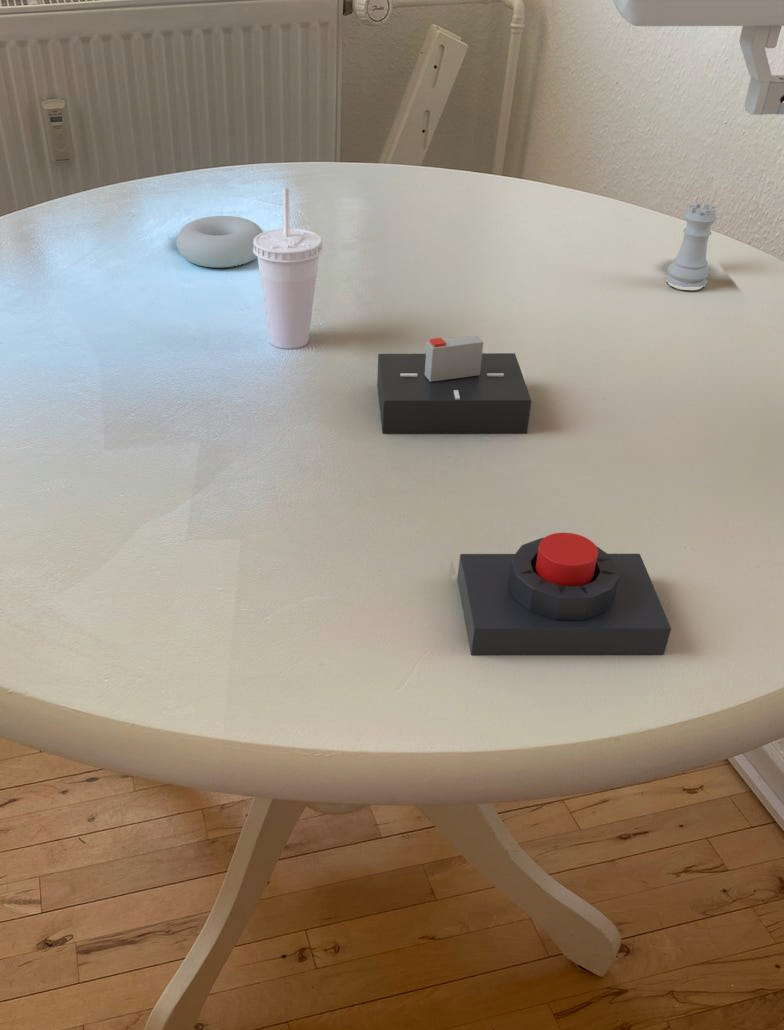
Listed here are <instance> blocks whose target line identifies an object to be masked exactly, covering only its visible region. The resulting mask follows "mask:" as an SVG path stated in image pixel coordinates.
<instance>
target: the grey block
mask: <svg viewBox="0 0 784 1030" xmlns="http://www.w3.org/2000/svg"><path fill="white" fill-rule="evenodd" d="M483 348H484V341H483V340H482V339H481V337H479V336H478V335H469V336H461V337H453V338H445V339H443V338H442V337H437V338H436V337H435V338H430V339H429V341H427V342H426V348H425V354H426V361H425V376H426V377H427V379H428V380H429V381H430V382H434V381H441V380H449V379H456V378H463V377H471V376H478V375H480V369H481V360H482V353H483V350H484V349H483Z"/></svg>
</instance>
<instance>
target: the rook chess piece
mask: <svg viewBox="0 0 784 1030" xmlns="http://www.w3.org/2000/svg"><path fill="white" fill-rule="evenodd" d="M716 210H717V208H716V206H714V205H710V203H704V204H703V207H701V202H697V203H694V204H690V205H689V209H688V210H687V212H685V213H684V214H683V215H684V219H685V221H686V227H685V228H684V229H683V231H682V232H683V234H684V235H683V239H682V242H681V245H680V248H679V250H678V253H677V255H676V256H675V258H673V262H671V263H670V264H669V265H668V267H667V270H666V271H667V275H666V276H665V277H666V280H667V281H668V282H669V283H672V284H674V285H678V286H682V287H701V286H704V285H706V284H707V283H708V284H709V280H708V279H707V278H708V277H709V276H710V268H709V266H708V264H709V263H708V260H707V250H708V242H709V237H710V236H711V235H712V230H711V227H712V225H713V224H714V223H715V222H716V221H717V220H718V215H717V214H716ZM707 280H708V281H707ZM708 284H707V285H708ZM707 285H706V286H707Z"/></svg>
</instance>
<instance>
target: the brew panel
mask: <svg viewBox="0 0 784 1030" xmlns="http://www.w3.org/2000/svg"><path fill="white" fill-rule="evenodd" d="M425 361H426V353H378V356H377V377H376V387H377V395H378V405H379V406H378V407H379V415H380V425H381V433H382V434H527V433H528V428H529V421H530V415H531V406H532V398H531V395H530V392H529V389H528V387H527V384H526V381H525V378H524V376H523V372H522V369H521V366H520V364H519V361H518V357H517V355H516V353H515V352H514V353H513V352H507V353H506V352H505V353H504V352H503V353H502V352H499V353H497V352H496V353H495V352H494V353H493V352H491V353H488V352H487V353H483V352H482V360H481V369H480V375H478V376H471V377H463V378H456V379H449V380H441V381H434V382H430V381H429V380H428V379H427V377H426V376H425Z"/></svg>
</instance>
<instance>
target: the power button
mask: <svg viewBox="0 0 784 1030" xmlns="http://www.w3.org/2000/svg"><path fill="white" fill-rule="evenodd" d="M542 538H543V537H542ZM596 546H597V545H596V544H595V542H593V541H592V540H590V539H589V538H588V537H586V536H583V535H581V534H577V533H573V532H554V533H551V534H548V535H546V536H545V537H544V538H543V539H542V540H541V542H540V544H539V549H538V555H537V561H536V572H537V574H538V576H540V577H541V578H542V579H543V580H545V581H548V582H551V583H554V584H557V585H560V586H583V585H585V584H588V583H589V582H590V581H591V580H592V578H593V576H594V571H595V566H596V561H597V557H598V549H597V547H598V546H597V547H596Z"/></svg>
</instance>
